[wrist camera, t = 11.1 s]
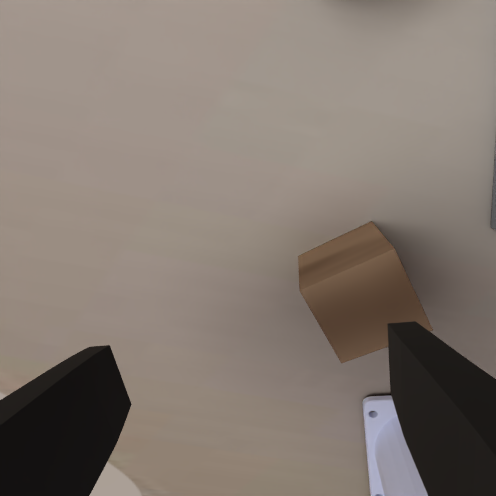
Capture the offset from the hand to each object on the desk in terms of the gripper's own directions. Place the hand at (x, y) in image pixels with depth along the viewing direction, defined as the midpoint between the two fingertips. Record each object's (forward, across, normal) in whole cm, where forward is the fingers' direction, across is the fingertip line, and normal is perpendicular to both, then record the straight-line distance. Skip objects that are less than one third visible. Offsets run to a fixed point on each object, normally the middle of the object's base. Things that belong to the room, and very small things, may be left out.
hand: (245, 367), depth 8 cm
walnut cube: (+10, -4, +2) cm, 10 cm away
